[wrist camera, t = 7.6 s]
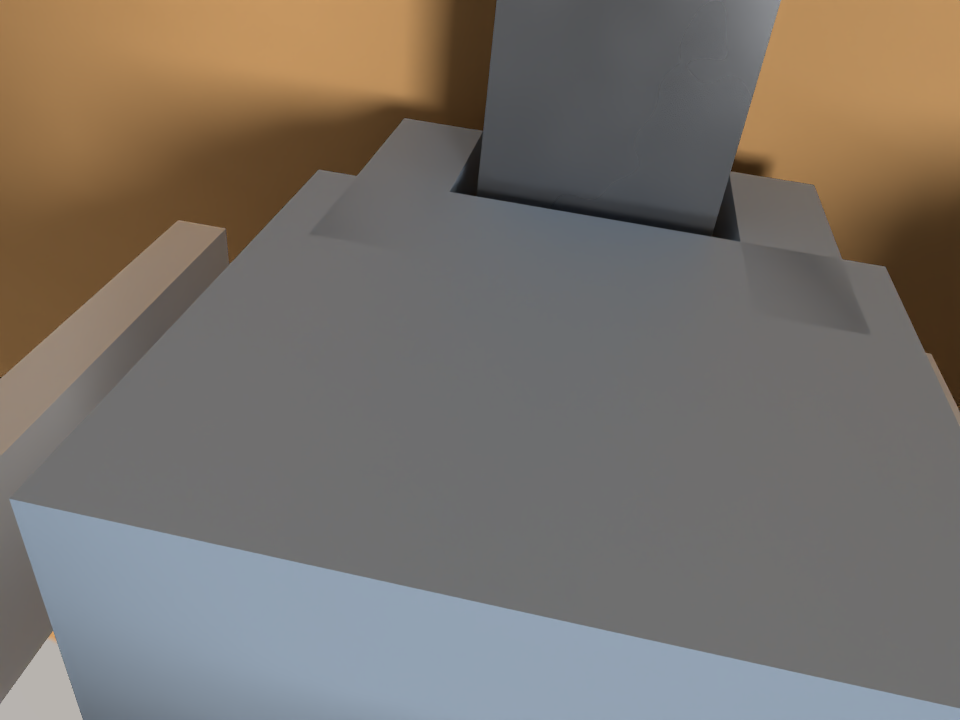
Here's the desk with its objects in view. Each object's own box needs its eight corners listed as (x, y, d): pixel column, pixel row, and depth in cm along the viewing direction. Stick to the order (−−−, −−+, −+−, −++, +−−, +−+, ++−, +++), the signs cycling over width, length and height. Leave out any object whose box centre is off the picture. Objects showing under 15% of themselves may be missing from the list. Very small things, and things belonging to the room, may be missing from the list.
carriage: (372, 112, 12) (9, 498, 5) (850, 190, 12) (1106, 740, 5) (365, 420, 16) (138, 886, 9) (732, 493, 15) (784, 1057, 8)
